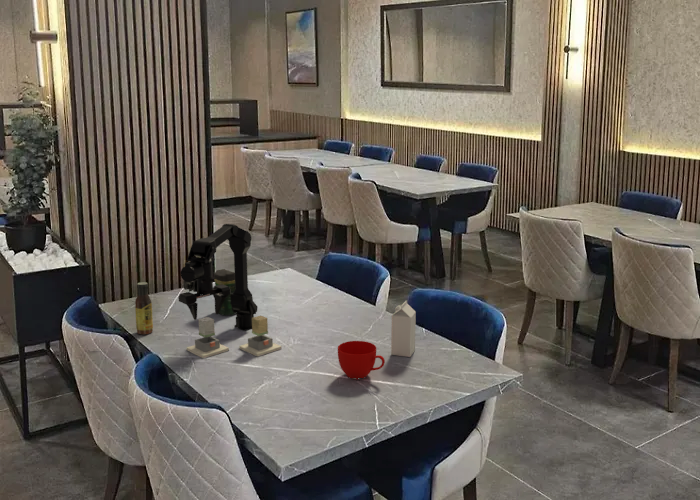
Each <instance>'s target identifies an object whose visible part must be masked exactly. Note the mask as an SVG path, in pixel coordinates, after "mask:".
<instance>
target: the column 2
mask: <svg viewBox="0 0 700 500" xmlns="http://www.w3.org/2000/svg"><path fill="white" fill-rule="evenodd" d="M268 323H269V322H268V317H266V316H264V315H257V316H254V317H253V318H252V328H251V334H253V335H254V336H261V335H265V336H266V335H268V334H269V330H268V329H269V327H268Z"/></svg>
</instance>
